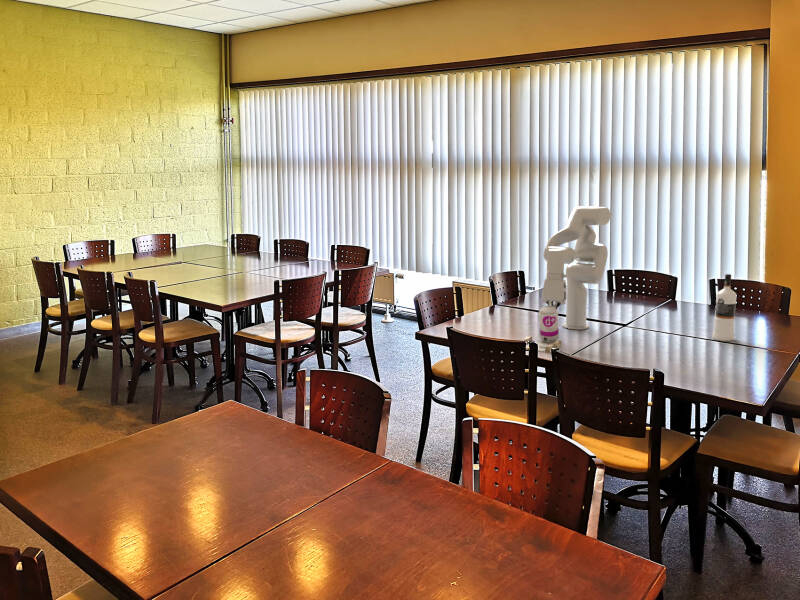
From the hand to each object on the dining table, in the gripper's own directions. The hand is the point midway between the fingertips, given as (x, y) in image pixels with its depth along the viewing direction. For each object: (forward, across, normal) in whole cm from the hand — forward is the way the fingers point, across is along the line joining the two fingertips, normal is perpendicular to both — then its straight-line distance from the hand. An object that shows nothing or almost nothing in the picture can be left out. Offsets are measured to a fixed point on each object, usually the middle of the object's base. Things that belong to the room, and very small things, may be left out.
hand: (553, 316), depth 333 cm
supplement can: (+10, 0, +3) cm, 11 cm away
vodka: (+11, -65, -42) cm, 78 cm away
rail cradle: (+11, 0, +16) cm, 19 cm away
